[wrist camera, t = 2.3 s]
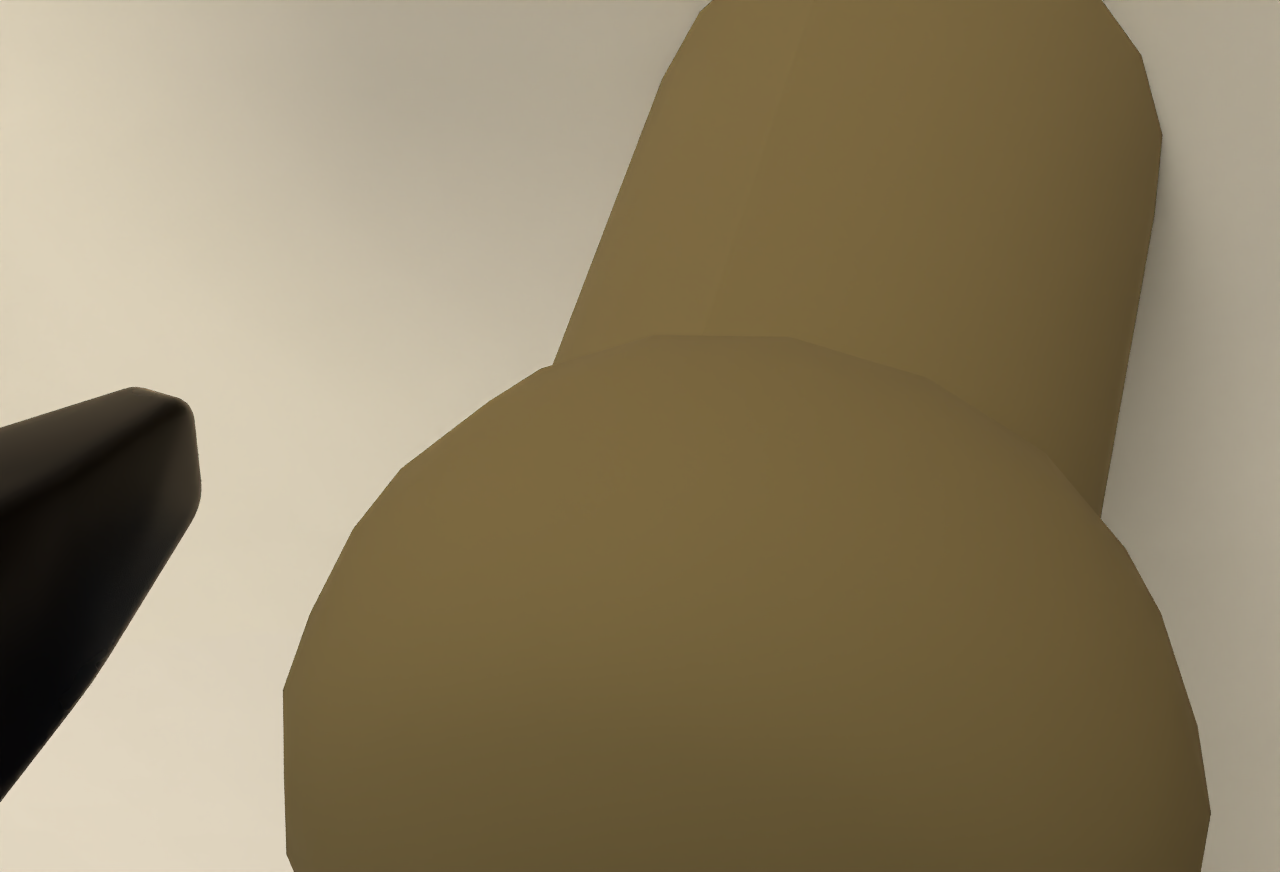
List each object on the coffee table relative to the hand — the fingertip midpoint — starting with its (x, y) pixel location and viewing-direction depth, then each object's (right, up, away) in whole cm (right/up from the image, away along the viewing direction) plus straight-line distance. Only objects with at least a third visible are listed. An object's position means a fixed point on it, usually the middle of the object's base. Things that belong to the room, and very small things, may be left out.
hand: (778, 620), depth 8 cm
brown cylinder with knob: (+2, +4, +6) cm, 8 cm away
